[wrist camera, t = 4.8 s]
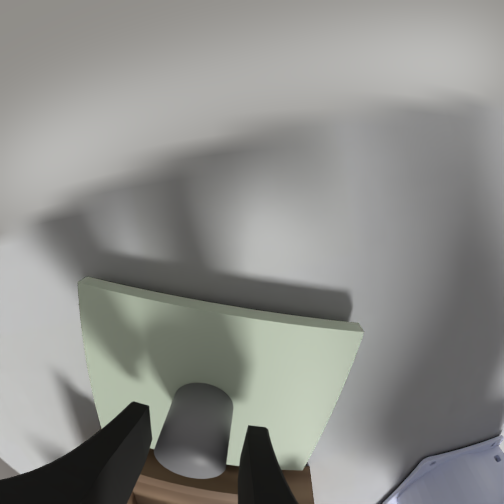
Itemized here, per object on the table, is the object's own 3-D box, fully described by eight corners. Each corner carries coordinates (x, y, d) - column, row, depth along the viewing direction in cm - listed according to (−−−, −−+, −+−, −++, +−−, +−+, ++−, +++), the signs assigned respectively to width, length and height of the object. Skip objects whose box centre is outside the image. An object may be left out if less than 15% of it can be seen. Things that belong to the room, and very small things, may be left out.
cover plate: (301, 460, 12) (307, 516, 9) (107, 424, 12) (80, 472, 9) (358, 323, 10) (394, 384, 6) (87, 276, 10) (27, 315, 6)
